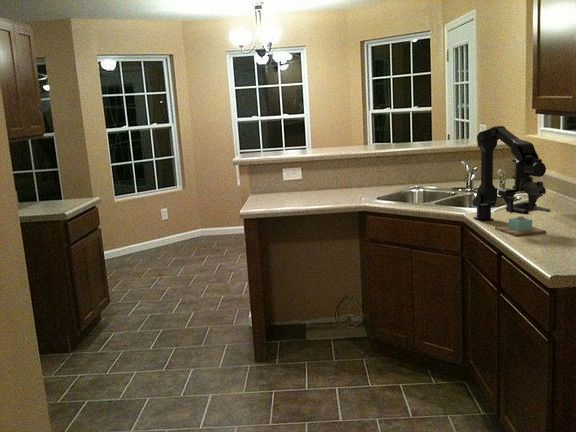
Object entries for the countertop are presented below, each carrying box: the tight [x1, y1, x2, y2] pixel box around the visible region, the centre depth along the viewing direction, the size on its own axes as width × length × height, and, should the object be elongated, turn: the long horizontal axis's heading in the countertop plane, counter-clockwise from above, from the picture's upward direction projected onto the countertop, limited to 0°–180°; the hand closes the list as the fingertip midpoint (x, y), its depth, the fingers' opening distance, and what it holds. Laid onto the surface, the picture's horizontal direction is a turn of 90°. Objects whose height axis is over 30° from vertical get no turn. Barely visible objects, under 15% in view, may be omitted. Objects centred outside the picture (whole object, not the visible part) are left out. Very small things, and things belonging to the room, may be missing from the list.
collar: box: [508, 217, 533, 231], centre depth 241 cm, size 6×6×4 cm
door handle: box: [505, 200, 551, 215], centre depth 283 cm, size 3×20×16 cm
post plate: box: [494, 215, 547, 237], centre depth 241 cm, size 14×14×6 cm
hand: (521, 212), depth 240 cm, fingers open, 9 cm apart
